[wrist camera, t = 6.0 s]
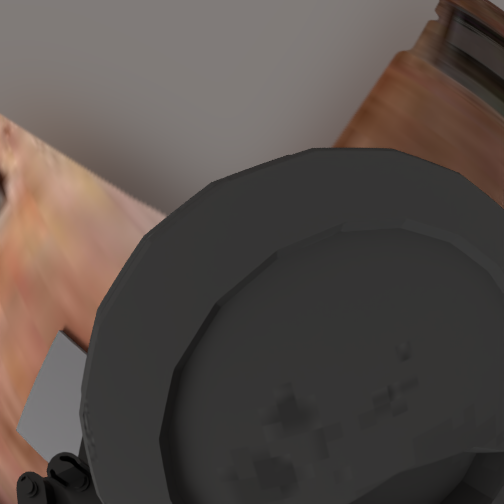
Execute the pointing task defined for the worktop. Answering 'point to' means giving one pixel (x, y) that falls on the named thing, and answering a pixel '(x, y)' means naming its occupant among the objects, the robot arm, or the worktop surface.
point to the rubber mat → (55, 401)
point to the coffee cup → (306, 342)
